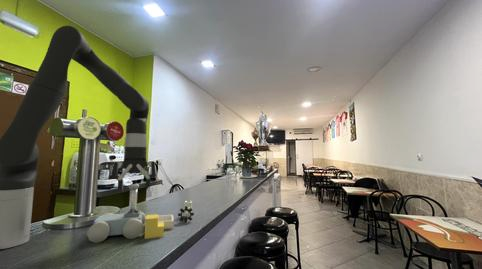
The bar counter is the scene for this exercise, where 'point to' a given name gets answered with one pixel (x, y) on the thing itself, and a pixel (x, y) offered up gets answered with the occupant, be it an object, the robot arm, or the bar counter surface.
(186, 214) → the valve
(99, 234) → the trolley
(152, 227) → the block
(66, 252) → the bar counter surface
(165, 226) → the tray
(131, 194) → the pin
